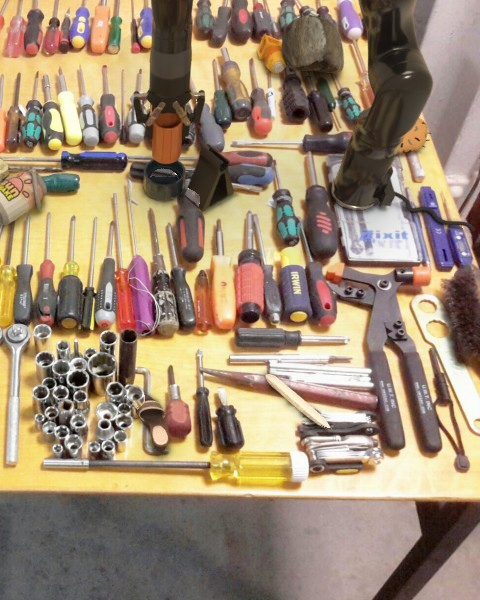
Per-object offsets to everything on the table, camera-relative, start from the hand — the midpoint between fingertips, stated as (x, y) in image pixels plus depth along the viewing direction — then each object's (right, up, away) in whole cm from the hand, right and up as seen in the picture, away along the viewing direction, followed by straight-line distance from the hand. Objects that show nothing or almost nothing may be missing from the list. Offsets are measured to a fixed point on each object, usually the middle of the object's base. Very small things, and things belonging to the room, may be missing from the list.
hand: (167, 136), depth 128 cm
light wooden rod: (+20, -51, -20) cm, 59 cm away
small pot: (0, -3, +4) cm, 5 cm away
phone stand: (+11, -10, +10) cm, 18 cm away
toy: (+55, +3, +15) cm, 57 cm away
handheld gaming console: (-37, -7, +14) cm, 40 cm away
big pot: (+1, -8, +12) cm, 14 cm away
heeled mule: (-5, -55, -20) cm, 59 cm away
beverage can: (-36, -15, +5) cm, 39 cm away
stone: (+35, +27, +22) cm, 49 cm away
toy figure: (+32, +24, +28) cm, 49 cm away
